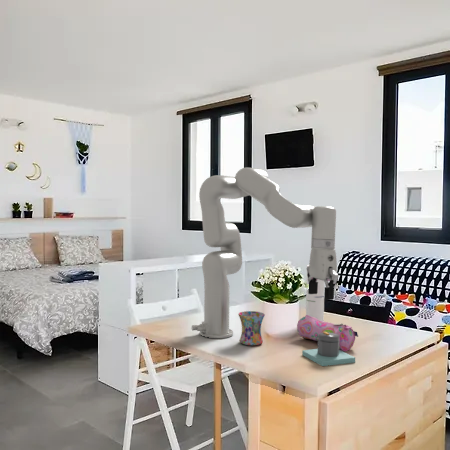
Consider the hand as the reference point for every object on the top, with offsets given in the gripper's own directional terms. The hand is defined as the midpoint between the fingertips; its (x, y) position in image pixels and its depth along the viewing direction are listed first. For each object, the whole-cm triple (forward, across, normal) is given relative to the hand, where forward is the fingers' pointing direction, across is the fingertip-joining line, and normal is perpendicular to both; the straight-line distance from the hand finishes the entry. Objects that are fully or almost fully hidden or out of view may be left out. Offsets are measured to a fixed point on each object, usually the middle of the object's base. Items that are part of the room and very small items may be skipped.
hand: (320, 296), depth 156 cm
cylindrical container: (+20, +35, -20) cm, 45 cm away
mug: (+20, +21, +15) cm, 33 cm away
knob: (+18, -4, -1) cm, 18 cm away
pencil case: (+20, +11, -10) cm, 25 cm away
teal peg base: (+19, -4, -1) cm, 20 cm away
